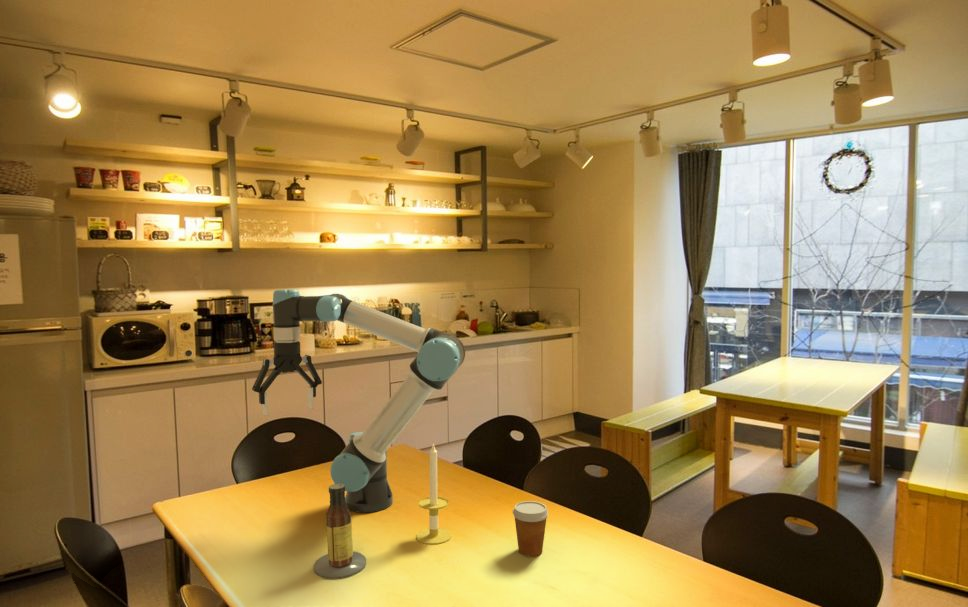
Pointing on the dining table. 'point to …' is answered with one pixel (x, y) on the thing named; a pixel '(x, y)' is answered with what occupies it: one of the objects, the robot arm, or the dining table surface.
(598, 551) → the dining table surface
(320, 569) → the disc
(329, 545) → the sauce bottle
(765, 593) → the dining table surface
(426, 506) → the candle
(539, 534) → the disposable coffee cup
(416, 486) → the dining table surface
